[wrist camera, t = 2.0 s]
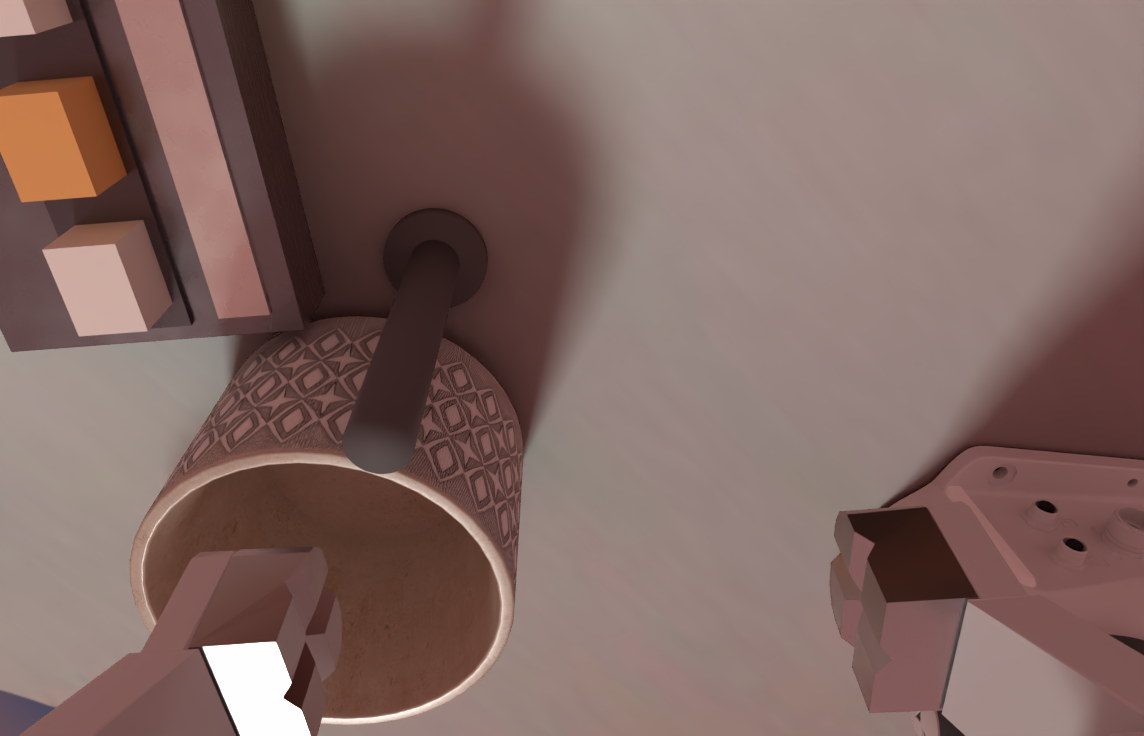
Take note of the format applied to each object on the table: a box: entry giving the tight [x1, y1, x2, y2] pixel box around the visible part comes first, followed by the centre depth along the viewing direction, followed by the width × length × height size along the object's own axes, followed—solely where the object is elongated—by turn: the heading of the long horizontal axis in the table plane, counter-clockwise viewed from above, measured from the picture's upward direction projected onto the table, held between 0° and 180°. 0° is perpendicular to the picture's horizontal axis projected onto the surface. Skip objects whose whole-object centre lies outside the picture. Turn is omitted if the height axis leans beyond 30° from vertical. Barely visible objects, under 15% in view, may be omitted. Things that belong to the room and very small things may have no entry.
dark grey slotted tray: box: [0, 0, 325, 352], centre depth 36 cm, size 14×20×4 cm
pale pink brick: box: [42, 220, 172, 336], centre depth 36 cm, size 3×4×3 cm
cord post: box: [342, 208, 487, 474], centre depth 35 cm, size 5×5×16 cm
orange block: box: [0, 76, 127, 202], centre depth 33 cm, size 3×4×3 cm
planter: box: [130, 316, 524, 725], centre depth 42 cm, size 16×16×13 cm
